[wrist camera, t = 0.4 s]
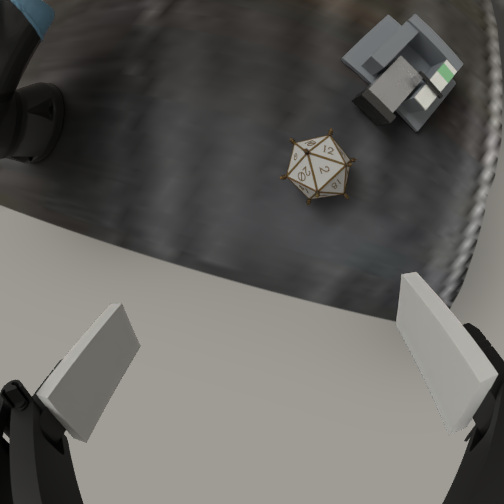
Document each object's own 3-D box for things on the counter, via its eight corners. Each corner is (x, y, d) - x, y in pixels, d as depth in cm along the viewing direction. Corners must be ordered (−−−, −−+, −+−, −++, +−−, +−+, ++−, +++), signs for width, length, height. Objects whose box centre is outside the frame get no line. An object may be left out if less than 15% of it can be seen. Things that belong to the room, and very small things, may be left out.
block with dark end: (351, 100, 29) (363, 93, 25) (390, 60, 26) (405, 48, 21) (390, 139, 31) (407, 138, 26) (426, 97, 28) (445, 92, 23)
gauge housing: (340, 60, 29) (350, 45, 23) (386, 17, 25) (400, 0, 19) (414, 131, 31) (435, 130, 25) (453, 84, 27) (474, 78, 21)
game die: (314, 178, 38) (307, 232, 33) (274, 138, 34) (258, 189, 29) (367, 152, 32) (373, 208, 27) (329, 103, 28) (328, 151, 23)
